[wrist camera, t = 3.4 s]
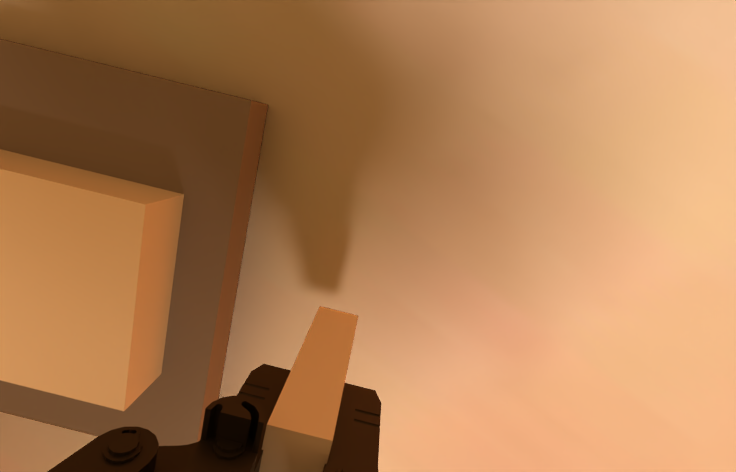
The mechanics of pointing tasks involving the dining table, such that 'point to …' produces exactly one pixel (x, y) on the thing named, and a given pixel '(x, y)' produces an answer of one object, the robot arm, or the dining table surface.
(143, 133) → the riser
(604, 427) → the dining table surface
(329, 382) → the robot arm
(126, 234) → the coaster
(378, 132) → the dining table surface
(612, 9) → the dining table surface
